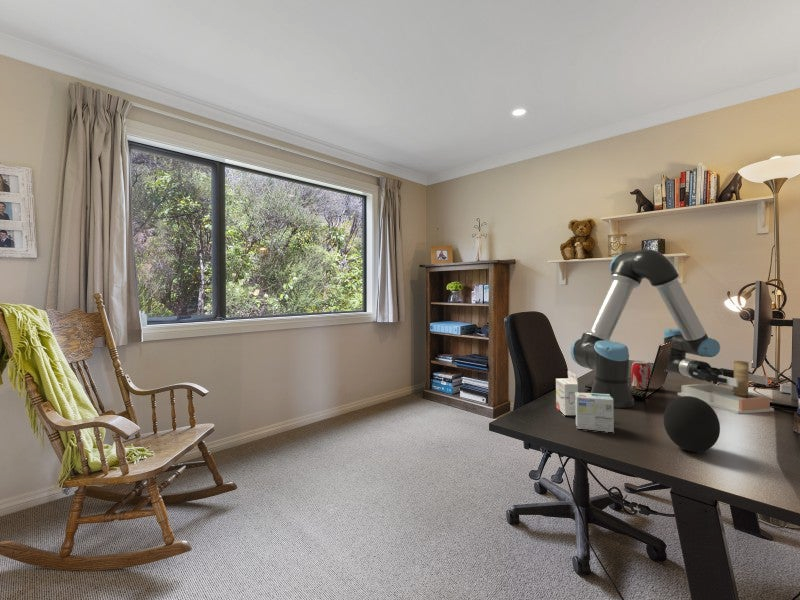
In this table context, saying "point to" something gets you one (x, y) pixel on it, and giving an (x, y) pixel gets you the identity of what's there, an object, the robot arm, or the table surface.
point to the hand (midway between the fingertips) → (752, 382)
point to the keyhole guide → (727, 398)
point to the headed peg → (741, 378)
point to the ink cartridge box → (566, 394)
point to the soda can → (640, 373)
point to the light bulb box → (594, 411)
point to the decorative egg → (691, 424)
